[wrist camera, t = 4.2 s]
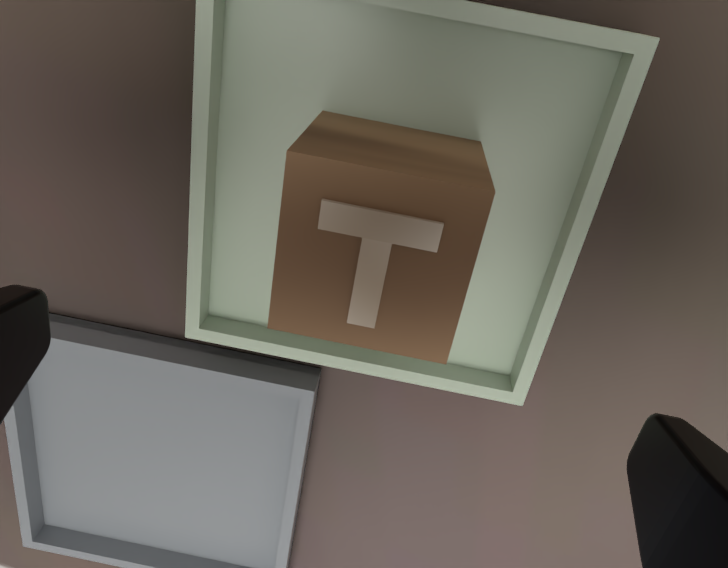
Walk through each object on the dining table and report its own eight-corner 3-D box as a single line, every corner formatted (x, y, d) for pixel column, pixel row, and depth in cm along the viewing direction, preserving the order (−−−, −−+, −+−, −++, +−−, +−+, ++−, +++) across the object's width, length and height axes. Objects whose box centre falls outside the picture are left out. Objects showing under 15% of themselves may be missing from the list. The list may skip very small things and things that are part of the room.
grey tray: (287, 572, 23) (280, 600, 22) (41, 520, 24) (23, 546, 22) (321, 368, 19) (314, 391, 18) (15, 306, 19) (-10, 325, 18)
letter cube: (443, 282, 16) (446, 366, 13) (303, 254, 17) (266, 330, 13) (480, 141, 15) (495, 193, 11) (322, 110, 15) (285, 151, 11)
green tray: (517, 381, 18) (522, 405, 17) (199, 316, 18) (185, 337, 17) (642, 33, 14) (659, 37, 12) (216, -48, 14) (198, -51, 13)
